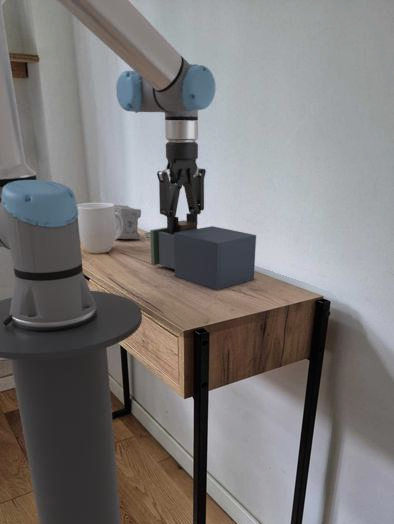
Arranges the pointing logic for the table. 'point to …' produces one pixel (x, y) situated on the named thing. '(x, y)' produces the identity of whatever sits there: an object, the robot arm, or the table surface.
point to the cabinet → (214, 256)
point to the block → (187, 225)
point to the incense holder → (128, 221)
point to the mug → (98, 226)
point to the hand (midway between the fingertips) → (182, 241)
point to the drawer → (161, 247)
